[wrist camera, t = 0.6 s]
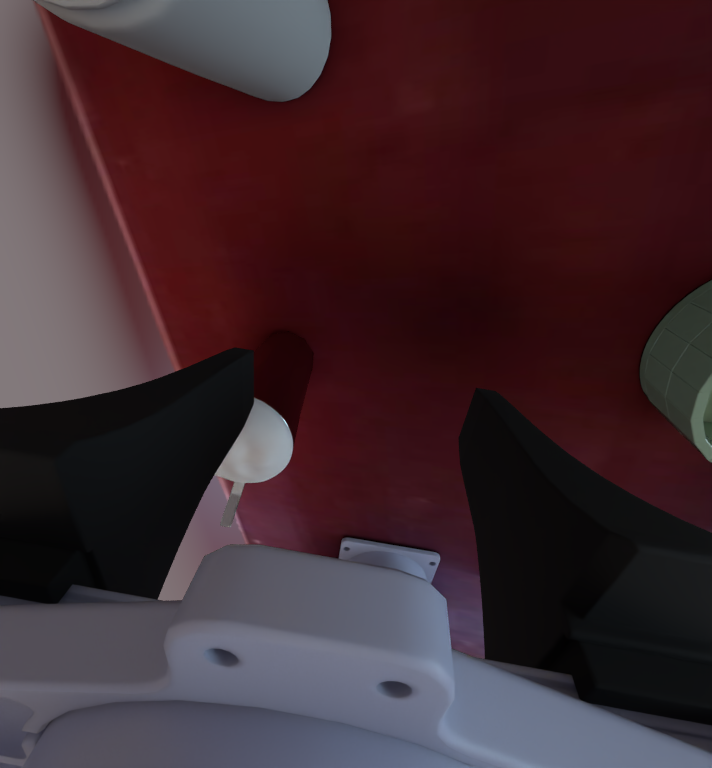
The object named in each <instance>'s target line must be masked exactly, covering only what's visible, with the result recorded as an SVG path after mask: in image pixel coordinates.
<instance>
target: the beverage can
mask: <svg viewBox="0 0 712 768" xmlns="http://www.w3.org/2000/svg"><path fill="white" fill-rule="evenodd" d="M33 1H35V2H36V3H38V4H40V5H41V6H43V7H44V8H46V9H47V10H49V11H50V12H52V13H54V14H55V15H57V16H58V17H60V18H61V19H63V20H65V21H67V22H69V23H71V24H73V25H76V26H78V27H81V28H83V29H86V30H88V31H91V32H93V33H95V34H98V35H100V36H103V37H105V38H108V39H110V40H113V41H115V42H117V43H120V44H122V45H125V46H127V47H130V48H132V49H135V50H137V51H139V52H142V53H144V54H147V55H149V56H152V57H154V58H157V59H159V60H161V61H164V62H166V63H169V64H171V65H174V66H176V67H179V68H181V69H184V70H186V71H189V72H191V73H194V74H196V75H199V76H201V77H204V78H207V79H209V80H212V81H215V82H217V83H220V84H223V85H225V86H228V87H231V88H234V89H236V90H239V91H241V92H244V93H247V94H249V95H252V96H254V97H258V98H261V99H264V100H267V101H280V102H284V101H288V100H292V99H296V98H298V97H300V96H301V95H302V94H304V93H305V92H306V91H308V90H309V89H310V88H311V87H312V86H313V84H314V83H315V82H316V80H317V79H318V77H319V76H320V75H321V72H322V70H323V67H324V65H325V62H326V60H327V57H328V52H329V46H330V41H331V14H330V10H329V5H328V1H327V0H33Z"/></svg>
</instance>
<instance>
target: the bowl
mask: <svg viewBox="0 0 712 768" xmlns="http://www.w3.org/2000/svg"><path fill="white" fill-rule="evenodd" d="M640 381H641V386H642V389H643V391H644V394H645V395H646V397H647V399H648V400H649V401H650V402H651V404H652V405H653V406H654V407H655V408H656V409H657V410H658V411H659V412H660V414H661V415H662V416H663V417H664V418H665V419H666V420H667V421H668V422H669V423H670V424H671V425H672V426H673V427H674V428H675V429H676V430H677V431H678V432H679V433H681V434H682V435H683V436H684V437H685V438H686V439H687V440H688V441H689V442H690V443H691V444H692V445H693V446H694V447H695V448H696V449H697V450H698V451H699V452H700V453H701V454H702V455H703V456H704V457H705V458H706V459H707V460H708V461H710V462H712V280H711V281H709V282H707V283H706V284H704V285H702V286H700V287H699V288H698V289H696V290H695V291H693V292H692V293H690V294H689V295H688V296H686V297H685V298H684V299H683V300H682V301H680V302H679V303H678V304H677V305H676V306H675V307H674V308H673V309H672V310H671V311H670V312H669V313H668V314H667V315H666V316H665V317H664V318H663V319H662V321H661V322H660V323H659V324H658V325H657V327H656V329H655V330H654V332H653V333H652V335H651V336H650V338H649V340H648V342H647V344H646V346H645V349H644V352H643V355H642V358H641V363H640Z"/></svg>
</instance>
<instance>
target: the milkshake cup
mask: <svg viewBox="0 0 712 768" xmlns="http://www.w3.org/2000/svg"><path fill="white" fill-rule="evenodd" d="M313 356H314V353H313V351H312V349H311V348H310V346H309V345H308V343H307V342H306V340H305V339H304V338H302V337H300V336H298V335H296V334H294V333H291V332H289V331H287V332H280V333H272V334H271V335H270V336H269V337H268V338H267V339H266V340H265V341H264V342H263V343H262V344H261V345H260V346H259V347H258V348H257V349H256V350H255V351H254V405H253V407H252V409H251V412H250V414H249V417H248V419H247V421H246V423H245V426H244V428H243V429H242V431H241V433H240V434H239V436H238V438H237V439H236V441H235V443H234V444H233V446H232V447H231V449H230V451H229V452H228V454H227V455H226V457H225V459H224V460H223V462H222V463H221V465H220V467H219V468H218V470H217V471H216V473H215V475H216V476H219V477H222V478H225V479H228V480H231V481H234V485H233V488H232V491H231V494H230V497H229V500H228V503H227V505H226V508H225V511H224V514H223V517H222V520H221V524H220V525H221V526H224V527H231V524H232V521H233V519H234V516H235V512H236V509H237V506H238V503H239V500H240V497H241V494H242V491H243V488H244V485H245V483H258V482H263V481H266V480H268V479H270V478H272V477H274V476H276V475H277V474H279V473H280V472H281V471H282V470H283V469H284V468H285V467H286V466H287V464H288V463H289V461H290V459H291V456H292V451H293V447H294V443H295V438H296V433H297V429H298V424H299V419H300V414H301V410H302V406H303V403H304V399H305V395H306V391H307V388H308V384H309V380H310V376H311V373H312V368H313Z"/></svg>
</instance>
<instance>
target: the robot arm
mask: <svg viewBox="0 0 712 768" xmlns="http://www.w3.org/2000/svg"><path fill="white" fill-rule="evenodd" d="M253 405H254V351H253V350H247V349H241V348H232V349H229V350H226V351H224V352H221V353H219V354H217V355H214V356H212V357H210V358H208V359H205V360H203V361H201V362H198V363H196V364H194V365H191V366H189V367H187V368H184V369H181V370H179V371H176V372H174V373H171V374H168V375H166V376H163V377H160V378H158V379H155V380H152V381H149V382H146V383H142V384H140V385H136V386H132V387H129V388H125V389H121V390H118V391H113V392H109V393H103V394H99V395H95V396H90V397H85V398H80V399H74V400H68V401H62V402H55V403H48V404H40V405H32V406H24V407H12V408H0V768H712V533H710V532H708V531H706V530H704V529H701V528H699V527H697V526H694V525H692V524H690V523H688V522H685V521H683V520H681V519H679V518H677V517H675V516H673V515H671V514H669V513H667V512H665V511H663V510H661V509H659V508H657V507H655V506H653V505H651V504H649V503H647V502H645V501H643V500H641V499H640V498H638V497H636V496H634V495H632V494H630V493H629V492H627V491H625V490H624V489H622V488H620V487H618V486H617V485H615V484H613V483H612V482H610V481H608V480H607V479H605V478H603V477H602V476H600V475H599V474H597V473H596V472H594V471H593V470H591V469H590V468H588V467H587V466H585V465H584V464H582V463H581V462H580V461H578V460H577V459H575V458H574V457H572V456H571V455H570V454H568V453H567V452H566V451H564V450H563V449H562V448H561V447H559V446H558V445H557V444H556V443H554V442H553V441H552V440H551V439H549V438H548V437H547V436H546V435H545V434H543V433H542V432H541V431H540V430H539V429H538V428H537V427H535V426H534V425H533V424H532V423H531V422H530V421H529V420H528V419H527V418H525V417H524V416H523V415H522V414H521V413H520V412H519V411H518V410H517V409H516V408H515V407H513V406H512V405H511V404H510V403H509V402H508V401H507V400H506V399H505V398H503V397H502V396H501V395H500V394H499V393H497V392H496V391H492V390H486V389H480V388H476V390H475V393H474V396H473V398H472V401H471V404H470V407H469V410H468V413H467V416H466V418H465V421H464V424H463V427H462V430H461V433H460V436H459V454H460V465H461V470H462V475H463V480H464V484H465V489H466V493H467V498H468V502H469V506H470V511H471V515H472V520H473V524H474V530H475V535H476V543H477V552H478V561H479V571H480V583H481V595H482V609H483V626H484V645H485V659H481V658H476V657H472V656H470V655H467V654H465V653H462V652H460V651H457V650H455V649H452V648H451V641H450V631H449V621H448V612H447V602H446V599H445V598H444V597H443V596H442V595H441V594H440V593H439V592H438V591H437V590H436V589H435V588H434V587H433V586H432V585H431V582H432V579H433V577H434V574H435V572H436V569H437V567H438V564H439V562H440V555H439V554H438V553H436V552H431V551H425V550H419V549H413V548H408V547H402V546H396V545H390V544H384V543H378V542H372V541H367V540H361V539H355V538H349V537H346V538H343V539H342V541H341V547H340V553H339V559H337V558H332V557H326V556H320V555H315V554H309V553H304V552H298V551H292V550H287V549H281V548H275V547H270V546H264V545H241V544H239V545H238V544H231V545H227V546H224V547H222V548H220V549H218V550H216V551H214V552H212V553H210V554H208V555H206V556H204V558H203V560H202V562H201V564H200V566H199V568H198V570H197V572H196V574H195V576H194V578H193V580H192V582H191V584H190V586H189V588H188V590H187V592H186V594H185V596H184V598H183V600H177V601H162V600H158V597H159V594H160V592H161V589H162V587H163V584H164V582H165V579H166V577H167V575H168V572H169V570H170V567H171V565H172V563H173V560H174V558H175V555H176V553H177V551H178V548H179V546H180V544H181V542H182V539H183V537H184V535H185V533H186V530H187V528H188V526H189V523H190V521H191V519H192V517H193V515H194V513H195V511H196V509H197V507H198V504H199V502H200V500H201V498H202V496H203V494H204V492H205V490H206V488H207V486H208V485H209V483H210V481H211V479H212V478H213V476H214V475H215V473H216V471H217V470H218V468H219V467H220V465H221V463H222V462H223V460H224V459H225V457H226V455H227V454H228V452H229V451H230V449H231V447H232V446H233V444H234V443H235V441H236V439H237V438H238V436H239V434H240V433H241V431H242V429H243V428H244V426H245V423H246V421H247V419H248V417H249V414H250V412H251V409H252V407H253Z"/></svg>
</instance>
